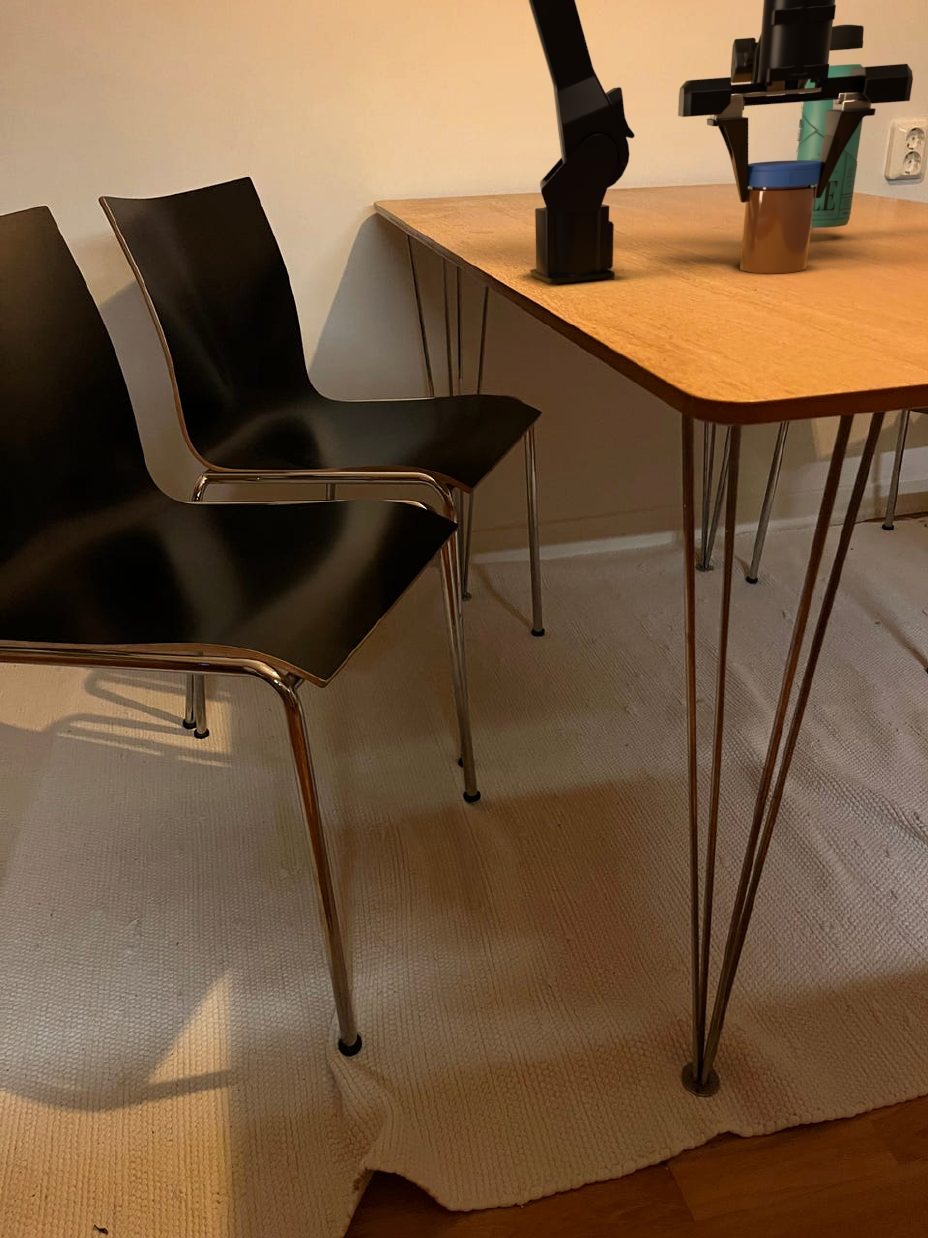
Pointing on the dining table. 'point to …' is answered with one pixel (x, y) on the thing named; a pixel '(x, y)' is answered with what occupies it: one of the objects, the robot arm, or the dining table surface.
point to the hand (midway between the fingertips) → (780, 199)
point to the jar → (777, 229)
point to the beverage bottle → (841, 183)
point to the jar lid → (784, 173)
